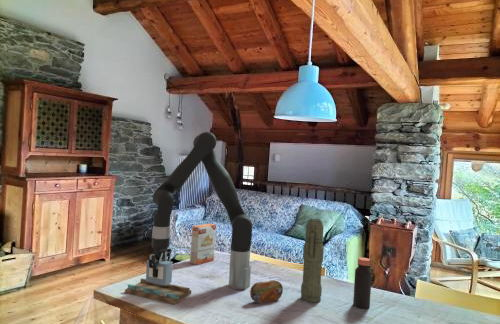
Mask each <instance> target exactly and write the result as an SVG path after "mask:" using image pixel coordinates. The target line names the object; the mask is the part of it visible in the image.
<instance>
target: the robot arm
mask: <svg viewBox="0 0 500 324" xmlns="http://www.w3.org/2000/svg"><path fill="white" fill-rule="evenodd" d="M216 146H217V137H216V136H215V135H214V133H212V132H210V131H203V132H201V133H200V134H198V135H196V136H195V138H194V139H193V148H192V149H191V150H190V151H189V154H188V155H187V156H186V157H185V158H184V159H183V160H182V161H181V162H180V163H179V164H178V165H177V166H176V168H174V170H173V171H172V172H171V174H170V175H169V177H167V179H166V180H165V181H164V182H162V184H160V185H159V187H157V188H156V189H155V191H154V193H153V194H152V201H153V203H154V204H155V205H157V210H156V212H155V213H154V214H153V226H152V231H151V233H152V234H151V248H152V249H153V251H152V253H151V254H148V255H147V261H148V260H149V268H153V277H155V278H157V277H158V267H159V263H161V260H164V261H170V260H171V255H172V249H171V248H170V246H171V245H170V243H171V216H172V212H173V208H174V204H175V198H174V195H173V194H174V193H175V192H176V191H179V190H180V189H181V188H182V187H183V186H184V184H185V183H186V182H187V180H188V179H189V178H190V177H191V175H192V173H193V172H194V171H195V169H197V167H198V165H199V164H200V163H202V164H203V167H204V168H205V171H206V173H207V176H208V177H209V180H210V183H211V186H212V187H213V190H214V191H215V194H216V196H217V197H218V199H219V201H220V202H221V204H222V205H223V207H224V208H225V210H226V213H227V216H228V219H229V222H230V225H231V242H230V252H229V253H230V256H229V270H228V271H229V275H228V287H229V288H230V289H233V290H247V289H248V288H249V287H250V285H251V271H252V270H251V269H252V266H251V265H250V264H251V261H250V258H251V247H252V237H253V223H252V221H251V219H250V218H249V217H248V215H247V213H246V212H245V210H244V208H243V206H242V205H241V202H240V200H239V196H238V193H237V192H238V191H237V190H236V187H235V185H234V182H233V179H232V177H231V175H230V173H229V172H228V170H226V168H225V166H223V164H222V163H221V162H220V160H219V159H218V157H217V155H216V153H215V150H214V149H215V148H216ZM155 259H156V260H158V261H155ZM155 263H157V264H155Z"/></svg>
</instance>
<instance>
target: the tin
mask: <svg viewBox="0 0 500 324" xmlns="http://www.w3.org/2000/svg"><path fill="white" fill-rule="evenodd" d="M283 292H284V288H283V285H282V283H281V282H280V281H278V280H273V279H271V280H265V281H259V282H256V283H255V282H254V284H253V285H252V286H251V288H250V290H249V296H250V298H251V300H252V301H253V302H255V303H256V304H265V303H271V302H276V301H278V300H279V299H280V298H281V297H282V295H283Z"/></svg>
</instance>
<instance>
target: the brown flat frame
mask: <svg viewBox="0 0 500 324" xmlns="http://www.w3.org/2000/svg"><path fill="white" fill-rule="evenodd" d="M139 281H140V282H138V283H136V284H131V283H129V284H127V288H125V289H124V294H128V295H133V296H136V297H137V296H138V297H141V298H145V299H149V300H153V301H157V302H162V303H167V304H171V305H177V304H178V303H180V302H181V301H182V300H184V299H186V298H187V297H188V296H190V295H191V294H192V290H191V289H190V288H189V287H185V286H181V285H176V284H172V283H170V284H168V285H166V286H164V285H160V284H155V283H150V282H146V278H140V280H139Z"/></svg>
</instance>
